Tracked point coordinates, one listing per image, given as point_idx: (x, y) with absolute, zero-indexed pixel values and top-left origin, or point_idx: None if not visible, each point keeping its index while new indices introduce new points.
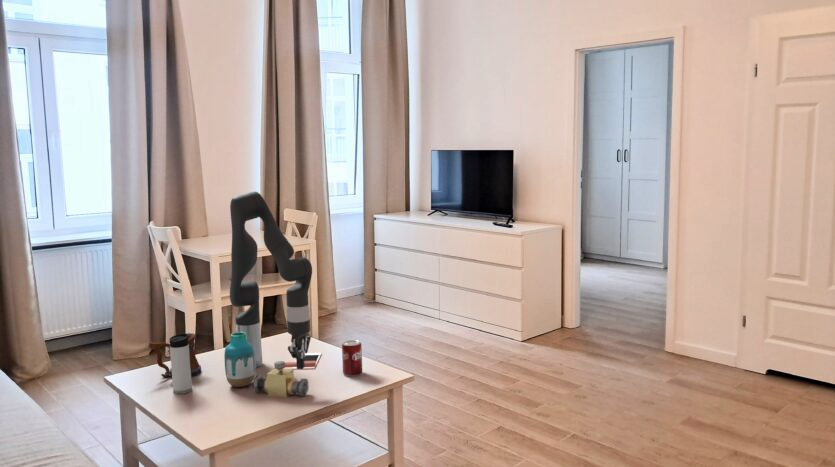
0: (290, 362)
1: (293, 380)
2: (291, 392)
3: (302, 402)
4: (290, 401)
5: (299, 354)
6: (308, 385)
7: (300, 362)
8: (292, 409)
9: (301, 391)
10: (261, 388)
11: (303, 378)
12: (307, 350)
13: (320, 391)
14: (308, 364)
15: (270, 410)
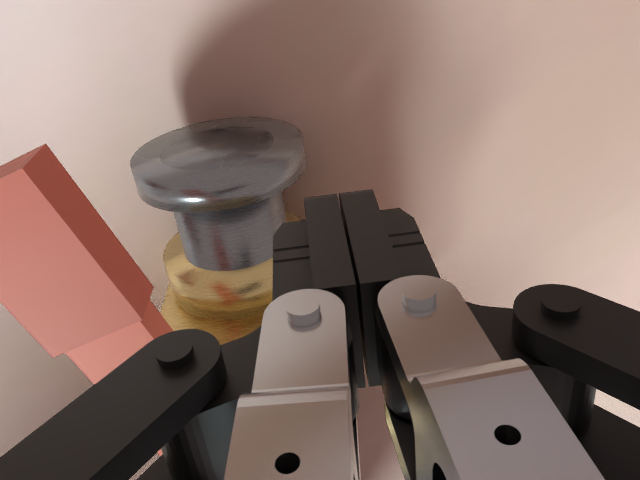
0: (160, 449)
1: (242, 274)
2: (294, 219)
3: (355, 61)
4: (365, 166)
5: (601, 348)
6: (135, 152)
7: (426, 257)
8: (512, 60)
9: (288, 134)
10: None
11: (183, 205)
12: (128, 373)
13: (69, 43)
14: (91, 242)
15: (555, 206)
